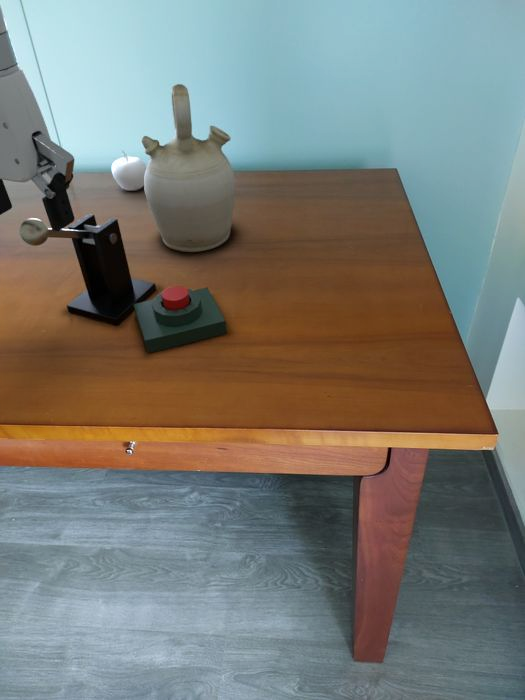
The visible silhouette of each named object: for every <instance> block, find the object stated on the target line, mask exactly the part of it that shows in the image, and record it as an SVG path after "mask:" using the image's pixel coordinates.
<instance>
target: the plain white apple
mask: <svg viewBox="0 0 525 700" xmlns="http://www.w3.org/2000/svg"><path fill="white" fill-rule="evenodd" d="M120 152H121V153H122V155H123V156H124V157H120V158H118V159H116V160H114V162H112V165H111V174H112V177H113V178H114V180H115V181H116V183H117V184H118V185H119V186H120V188H121V189H122V190H124V191H128V192H131V191H132V192H133V191H134V192H135V191H138V190H140V189H142V188H143V187H144V176H145V171H146V167H147V165H146V164H145V163H144V161H143V160H142V159H141V158H140V157H137V156H128V155H127V154H126V153H125V152H124V150H123V149H122V150H120Z"/></svg>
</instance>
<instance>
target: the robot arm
mask: <svg viewBox="0 0 525 700" xmlns="http://www.w3.org/2000/svg"><path fill="white" fill-rule="evenodd" d="M74 166H75V157H74V156H73V154H72V153H70V152H69V151H67V150H66V149H64V148H63V147H62V146H60V145H58V144H57V143H55V142H54V141H53V140H52V139H51V136H50V133H49V130H48V127H47V124H46V121H45V119H44V115H43V113H42V110H41V108H40V106H39V103H38V100H37V98H36V96H35V94H34V91H33V89H32V87H31V85H30V83H29V80H28V79H27V77H26V74H25V73H24V70H23V69H20V65H19V61H18V57H17V55H16V51H15V49H14V45H13V42H12V39H11V36H10V33H9V30H8V25H7V23H6V19H5V16H4V13H3V10H2V6H1V5H0V216H1V215H3V214H5V213H6V212H9V211H10V210H11V209H12V208H13V204H12V202H11V199H10V195H9V193H8V191H7V188H6V186H5V183H4V181H9V182H16V183H27V182H29V181H32V183H34V185H35V186H36V187H37V188H38V189H39V190H40V192H42V194H43V195H44V196H43V197H42V198H41V200H42V201H41V202H42V203H43V207H44V210H45V212H46V216H47V219H48V221H49V224H50V228H52V230H54V231H60V230H61V229H65V228H67V226H70V225H71V224H72V223H74V221H75V220H76V219H75V215H74V211H73V208H72V204H71V201H70V197H69V194H68V192H67V190H69V189H70V187H71V185H70V184H71V182H72V180H74V173H73V172H74ZM46 174H47V175H48V177H49V178H50V179H51V180H50V182H49V181H48V180H47V179H46V178H45V177H44V176H45V175H46Z"/></svg>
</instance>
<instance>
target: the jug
mask: <svg viewBox="0 0 525 700" xmlns="http://www.w3.org/2000/svg"><path fill="white" fill-rule="evenodd" d="M170 94H171V109H172V119H173V126H174V136H173V138H172V139H171V140H170V141H168V142H167V143H166V144H164V145H160V141H159V140H158V139H153V138H151V137H150V136H148V135H144V136H143V137H142V138H141V143H142V146H143V148H144V153H145V155H147V156H149V157H150V158H149V159H148V162H147V164H146V171H145V176H144V184H143V189H144V195H145V199H146V202H147V204H148V207H149V210H150V212H151V215H152V218H153V221H154V223H155V226H156V228H157V230H158V233H159V235H160V237H161V239H162V241H163V244H164V245H165V246H167V247H168V248H169V249H172V250H174V251H178V252H182V253H200V252H205V251H210V250H213V249H215V248H217V247H219V246H221V245H223V244H224V243H225V242H226V241H227V240H228V239H229V237H230V235H231V229H232V224H233V215H234V209H235V208H234V207H235V198H236V180H235V179H236V178H235V174H234V173H235V172H234V169H233V168H232V165H231V163H230V161H229V159H228V157H227V156H226V154H225V153H224V152H223V150H222V148H223V146H224V145H226V144H227V143H228V142H230V141H231V139H232V138H231V136H230V135H229V134H228V133H227V132H225V131H224V130H222V129H221V128H219V127H217V126H215V125H210V126H209V132H208V137H207V138H206V139H199V138H196V137H194V135H193V134H192V133H193V122H192V111H191V110H192V109H191V102H190V95H189V90H188V87H186V86H185V85H184V84H181V83H177V84H175V85H173V86H172V87H171V91H170Z"/></svg>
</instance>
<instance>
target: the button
mask: <svg viewBox="0 0 525 700" xmlns="http://www.w3.org/2000/svg"><path fill="white" fill-rule="evenodd" d="M187 289H188V288H186V287H184V286H182V285H173V286H169V287H166V288H165V289H164V290H163V291H162V292H161V293H162V300H163V305H164V308H165V309H167V310H174V311H176V310H180V309H184V308H186V307H187V306H189V304H190V300H189V293H188V290H187Z"/></svg>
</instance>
